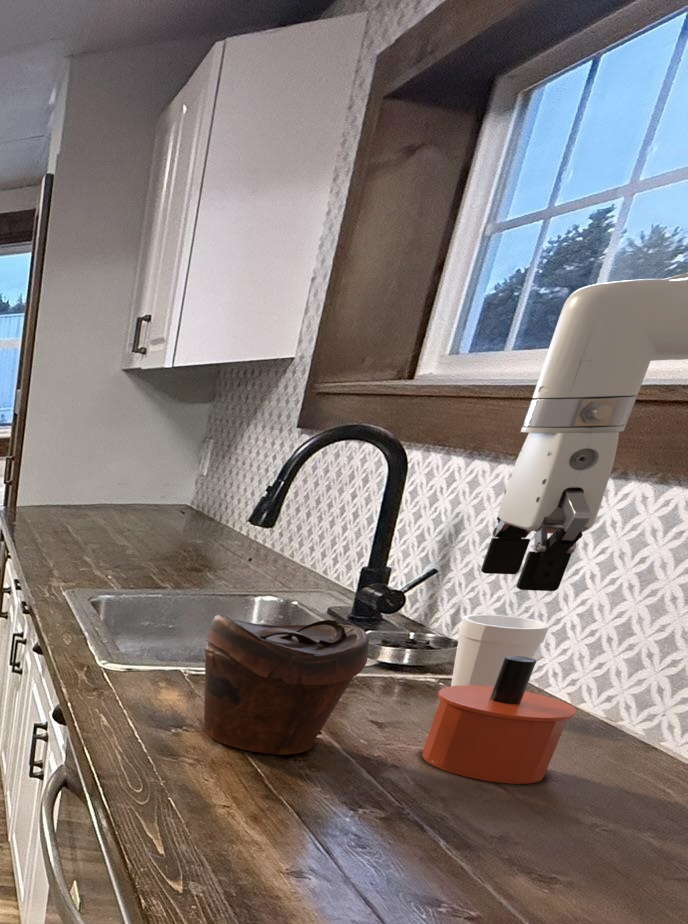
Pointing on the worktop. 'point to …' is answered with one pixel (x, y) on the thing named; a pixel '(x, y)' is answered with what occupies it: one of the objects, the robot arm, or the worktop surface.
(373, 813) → the worktop surface
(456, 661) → the foam cup
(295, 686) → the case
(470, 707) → the pot lid
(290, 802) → the worktop surface
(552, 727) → the pot
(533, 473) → the robot arm
